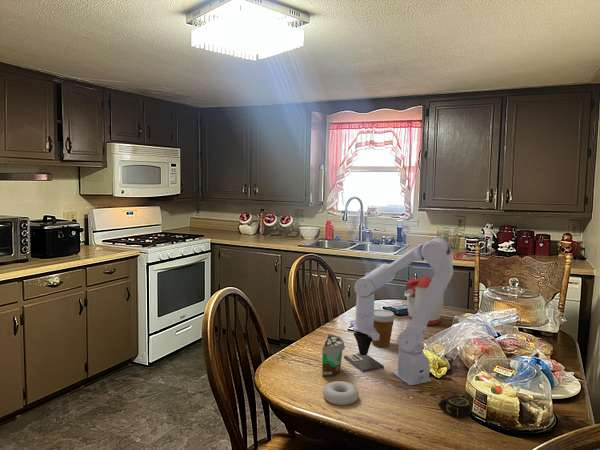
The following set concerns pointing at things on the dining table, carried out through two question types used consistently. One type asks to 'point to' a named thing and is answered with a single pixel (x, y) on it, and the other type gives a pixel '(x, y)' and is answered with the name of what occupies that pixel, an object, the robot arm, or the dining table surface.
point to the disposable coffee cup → (383, 327)
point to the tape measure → (456, 406)
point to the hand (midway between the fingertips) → (363, 354)
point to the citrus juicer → (415, 295)
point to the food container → (332, 356)
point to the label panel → (363, 362)
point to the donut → (340, 393)
